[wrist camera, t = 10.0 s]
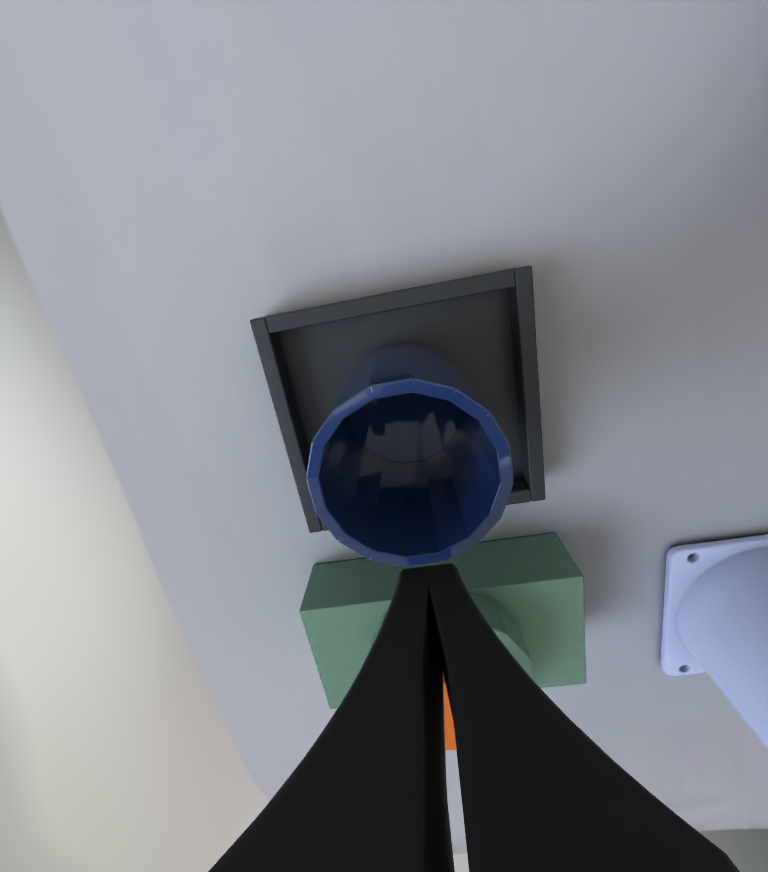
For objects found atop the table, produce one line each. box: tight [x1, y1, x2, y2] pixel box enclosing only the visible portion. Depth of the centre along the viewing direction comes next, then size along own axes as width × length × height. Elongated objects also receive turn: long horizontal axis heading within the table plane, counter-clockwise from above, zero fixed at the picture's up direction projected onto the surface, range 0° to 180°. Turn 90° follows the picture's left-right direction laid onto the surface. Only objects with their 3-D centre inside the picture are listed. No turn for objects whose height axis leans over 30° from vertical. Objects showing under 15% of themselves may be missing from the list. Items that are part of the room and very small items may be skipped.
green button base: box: [299, 533, 586, 709], centre depth 19 cm, size 12×6×5 cm, turn 100°
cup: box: [306, 343, 513, 567], centre depth 14 cm, size 5×5×7 cm
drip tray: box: [250, 266, 545, 532], centre depth 17 cm, size 10×9×2 cm
